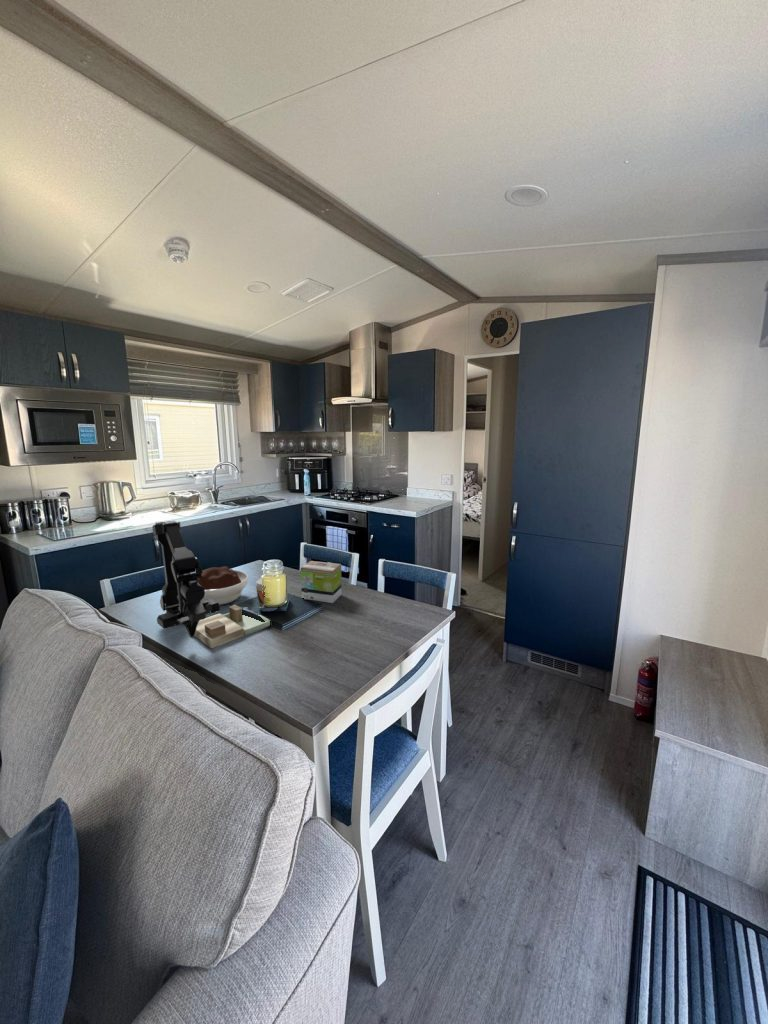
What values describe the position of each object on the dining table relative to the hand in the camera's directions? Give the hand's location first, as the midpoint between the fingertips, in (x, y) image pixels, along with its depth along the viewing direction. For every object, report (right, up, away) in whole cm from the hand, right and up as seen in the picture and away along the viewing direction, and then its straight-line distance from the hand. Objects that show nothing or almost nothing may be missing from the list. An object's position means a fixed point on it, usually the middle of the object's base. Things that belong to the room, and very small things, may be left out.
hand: (192, 636), depth 144 cm
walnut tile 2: (+5, +1, +6) cm, 8 cm away
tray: (+12, 0, +19) cm, 22 cm away
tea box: (+37, +4, +43) cm, 57 cm away
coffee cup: (+17, +2, +32) cm, 36 cm away
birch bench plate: (+4, -2, +11) cm, 12 cm away
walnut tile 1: (+8, +3, +20) cm, 22 cm away
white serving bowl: (-6, +4, +40) cm, 41 cm away
